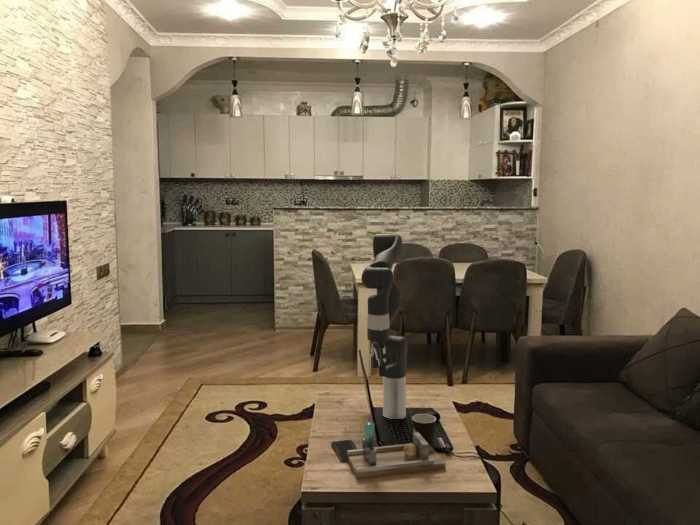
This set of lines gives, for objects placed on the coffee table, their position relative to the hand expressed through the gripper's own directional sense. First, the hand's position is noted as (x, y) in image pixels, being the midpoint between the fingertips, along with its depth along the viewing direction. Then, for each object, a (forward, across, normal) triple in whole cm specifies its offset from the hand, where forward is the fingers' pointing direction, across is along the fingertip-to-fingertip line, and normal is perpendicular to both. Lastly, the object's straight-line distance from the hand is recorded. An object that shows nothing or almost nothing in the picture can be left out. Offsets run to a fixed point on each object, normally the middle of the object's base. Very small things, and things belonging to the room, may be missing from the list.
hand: (378, 371), depth 204 cm
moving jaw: (+27, +8, -6) cm, 29 cm away
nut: (+28, +8, +8) cm, 30 cm away
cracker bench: (+30, +8, +3) cm, 31 cm away
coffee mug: (+31, -4, +18) cm, 36 cm away
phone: (+30, -5, -11) cm, 33 cm away
